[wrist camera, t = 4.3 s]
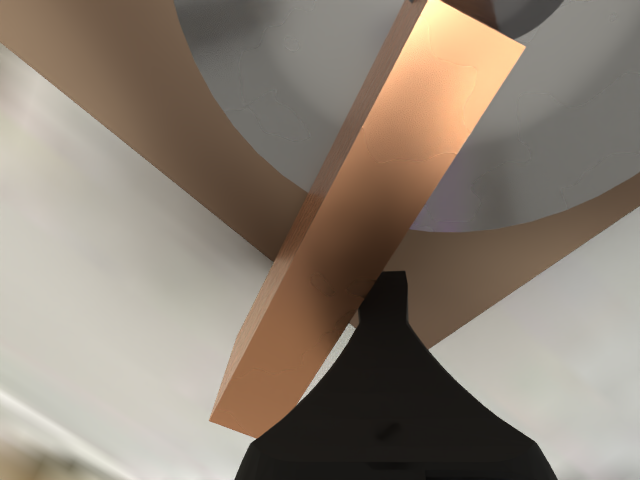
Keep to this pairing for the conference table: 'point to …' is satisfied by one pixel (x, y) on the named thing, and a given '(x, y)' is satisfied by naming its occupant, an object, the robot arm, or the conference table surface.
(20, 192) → the conference table surface
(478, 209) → the dial
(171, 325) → the conference table surface
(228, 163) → the stand
